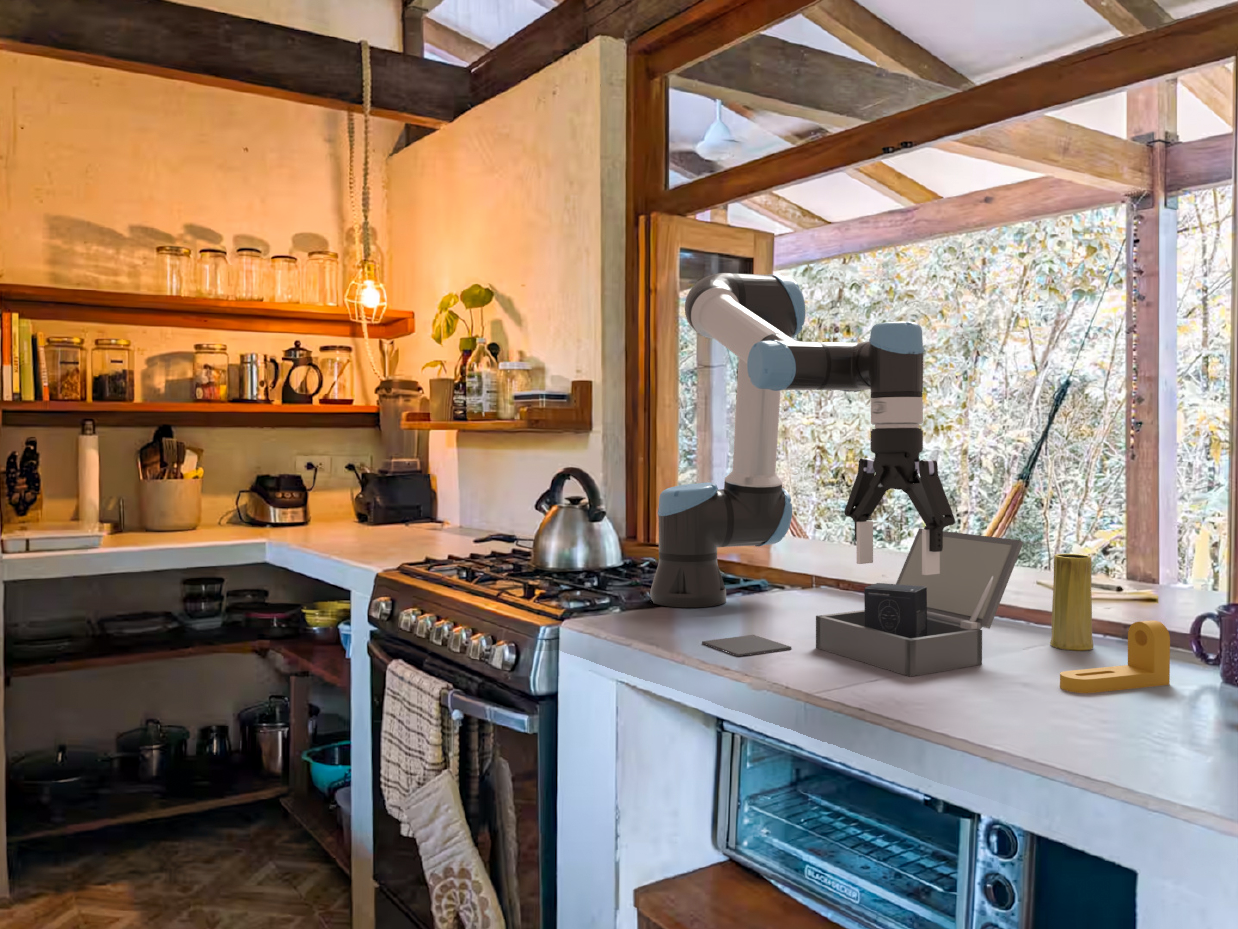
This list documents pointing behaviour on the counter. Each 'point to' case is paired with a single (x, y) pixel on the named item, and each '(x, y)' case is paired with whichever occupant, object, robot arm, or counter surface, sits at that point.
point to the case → (933, 609)
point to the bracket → (1142, 669)
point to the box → (896, 609)
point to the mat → (746, 645)
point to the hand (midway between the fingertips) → (896, 568)
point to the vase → (1072, 603)
